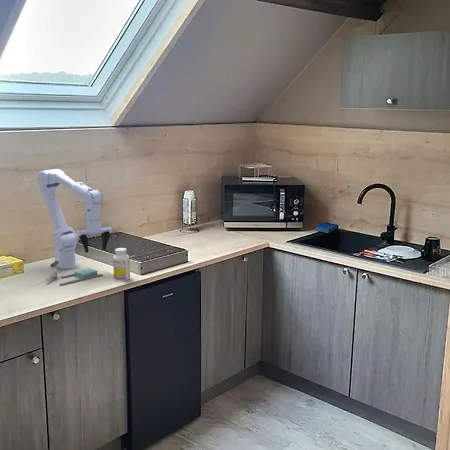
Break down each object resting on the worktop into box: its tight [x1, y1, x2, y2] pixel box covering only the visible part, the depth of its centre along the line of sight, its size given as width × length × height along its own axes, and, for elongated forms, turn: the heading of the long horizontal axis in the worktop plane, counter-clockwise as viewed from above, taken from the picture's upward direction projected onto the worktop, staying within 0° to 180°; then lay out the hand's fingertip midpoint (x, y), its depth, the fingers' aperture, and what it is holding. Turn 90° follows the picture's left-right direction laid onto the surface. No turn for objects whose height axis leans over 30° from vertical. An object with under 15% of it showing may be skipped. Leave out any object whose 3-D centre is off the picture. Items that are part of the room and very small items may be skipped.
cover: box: [74, 267, 98, 279], centre depth 239 cm, size 6×7×3 cm
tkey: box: [45, 260, 59, 282], centre depth 232 cm, size 10×1×7 cm, turn 173°
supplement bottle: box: [112, 247, 131, 281], centre depth 236 cm, size 7×7×13 cm
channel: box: [59, 272, 103, 287], centre depth 236 cm, size 9×19×2 cm, turn 134°
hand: (95, 250), depth 241 cm, fingers open, 7 cm apart
